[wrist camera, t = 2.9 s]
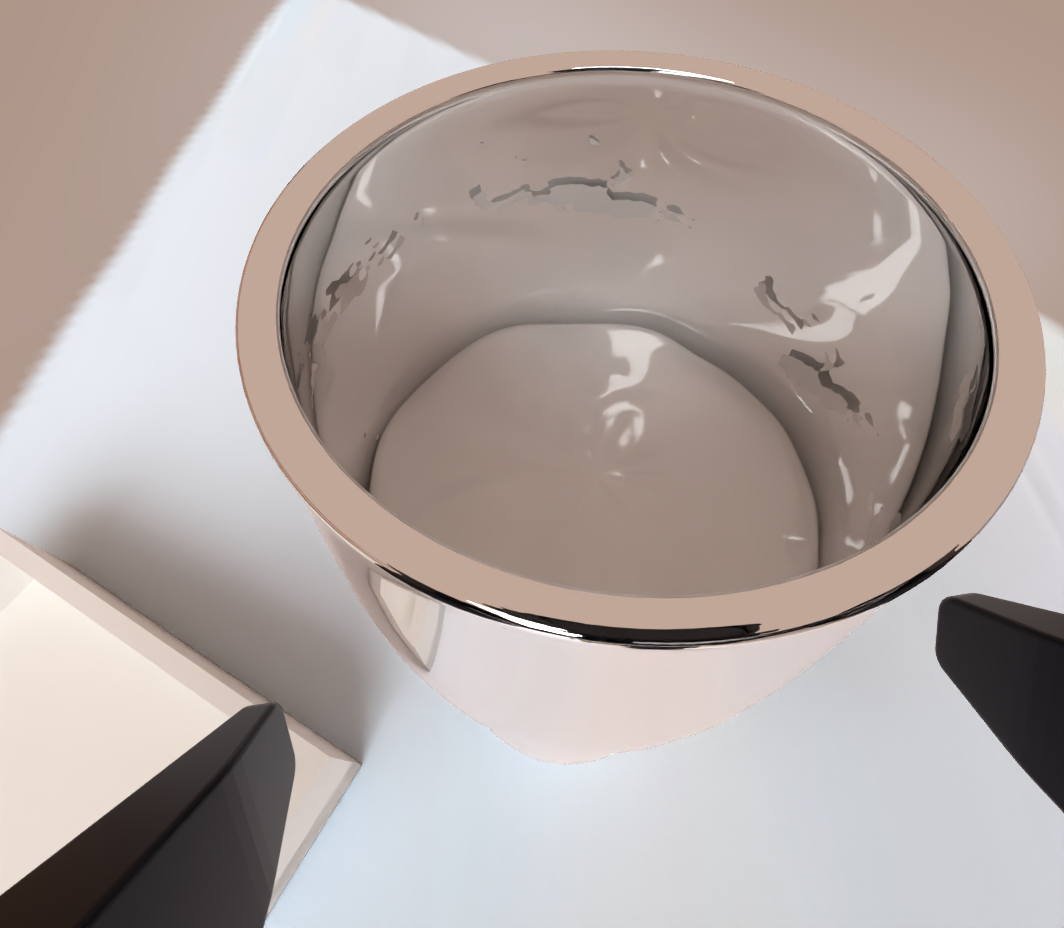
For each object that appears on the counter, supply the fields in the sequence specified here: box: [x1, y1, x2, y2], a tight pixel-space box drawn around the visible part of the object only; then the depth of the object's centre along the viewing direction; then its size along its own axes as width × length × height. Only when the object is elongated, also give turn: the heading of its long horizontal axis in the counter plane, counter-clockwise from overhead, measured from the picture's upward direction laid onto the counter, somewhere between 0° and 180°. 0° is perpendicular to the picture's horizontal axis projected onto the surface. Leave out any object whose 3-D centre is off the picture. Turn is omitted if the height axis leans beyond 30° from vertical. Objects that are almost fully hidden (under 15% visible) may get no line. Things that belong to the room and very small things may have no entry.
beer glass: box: [235, 51, 1046, 765], centre depth 12 cm, size 7×7×15 cm
